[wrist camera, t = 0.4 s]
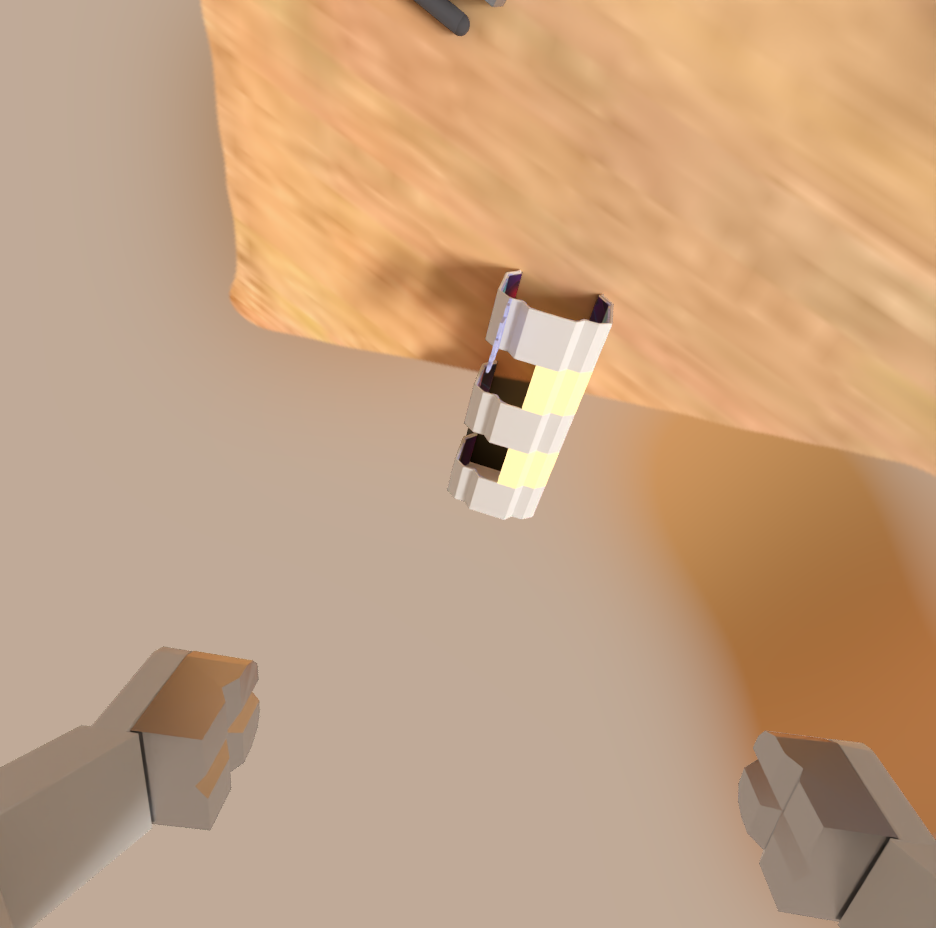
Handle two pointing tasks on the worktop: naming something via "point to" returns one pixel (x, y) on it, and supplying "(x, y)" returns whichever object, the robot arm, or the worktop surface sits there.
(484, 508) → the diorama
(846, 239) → the worktop surface
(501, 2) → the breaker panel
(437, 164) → the worktop surface
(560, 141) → the worktop surface
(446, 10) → the cords
